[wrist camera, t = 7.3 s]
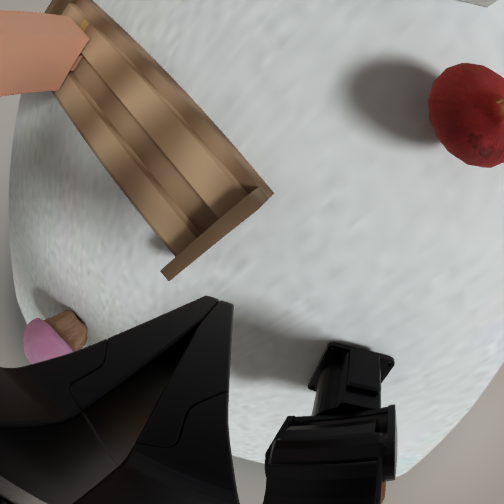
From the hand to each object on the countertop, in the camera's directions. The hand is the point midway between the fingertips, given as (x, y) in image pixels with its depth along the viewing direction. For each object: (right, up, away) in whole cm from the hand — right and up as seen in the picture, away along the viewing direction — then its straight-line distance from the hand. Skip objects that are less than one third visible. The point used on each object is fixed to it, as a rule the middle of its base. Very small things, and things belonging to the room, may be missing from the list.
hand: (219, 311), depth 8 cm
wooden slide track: (-10, +14, +12) cm, 21 cm away
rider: (-15, +20, +9) cm, 27 cm away
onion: (+14, +11, +6) cm, 18 cm away
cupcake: (-24, -8, +27) cm, 37 cm away
